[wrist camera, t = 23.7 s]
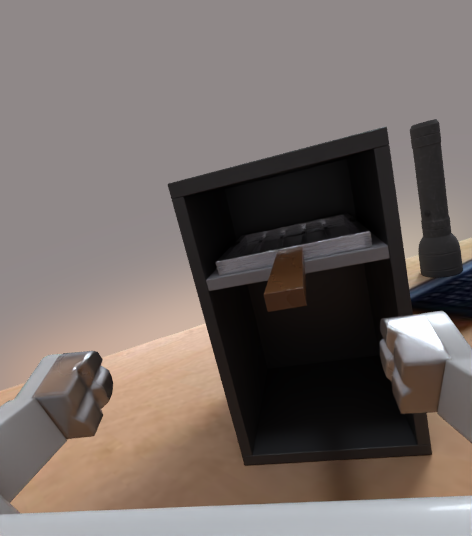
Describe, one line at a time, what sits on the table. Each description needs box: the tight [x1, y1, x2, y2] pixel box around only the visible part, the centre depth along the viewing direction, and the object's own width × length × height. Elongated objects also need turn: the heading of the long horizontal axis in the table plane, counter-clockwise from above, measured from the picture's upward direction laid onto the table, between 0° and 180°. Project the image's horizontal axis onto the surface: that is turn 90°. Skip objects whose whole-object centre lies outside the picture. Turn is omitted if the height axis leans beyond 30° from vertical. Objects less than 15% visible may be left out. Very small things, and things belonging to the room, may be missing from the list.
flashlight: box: [410, 119, 463, 277], centre depth 65 cm, size 7×28×7 cm
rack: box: [216, 213, 373, 312], centre depth 28 cm, size 23×12×1 cm, turn 170°
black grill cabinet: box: [168, 127, 432, 465], centre depth 35 cm, size 16×17×26 cm
